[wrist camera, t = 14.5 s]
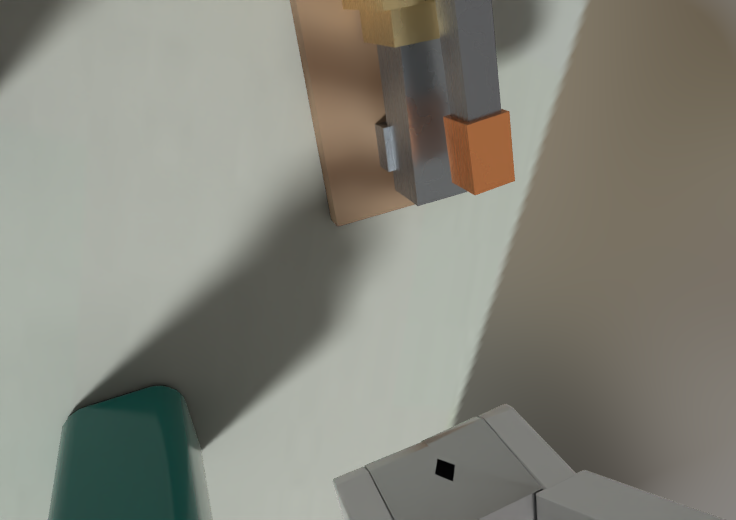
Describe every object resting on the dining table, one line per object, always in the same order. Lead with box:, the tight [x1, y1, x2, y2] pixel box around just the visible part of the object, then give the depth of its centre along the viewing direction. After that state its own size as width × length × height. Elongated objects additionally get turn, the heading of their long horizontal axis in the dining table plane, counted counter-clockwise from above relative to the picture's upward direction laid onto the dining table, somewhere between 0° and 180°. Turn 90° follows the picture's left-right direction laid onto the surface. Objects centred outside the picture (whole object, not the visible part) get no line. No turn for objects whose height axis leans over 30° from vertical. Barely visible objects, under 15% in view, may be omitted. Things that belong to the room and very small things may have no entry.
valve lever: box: [435, 0, 515, 195], centre depth 29 cm, size 14×3×3 cm, turn 12°
